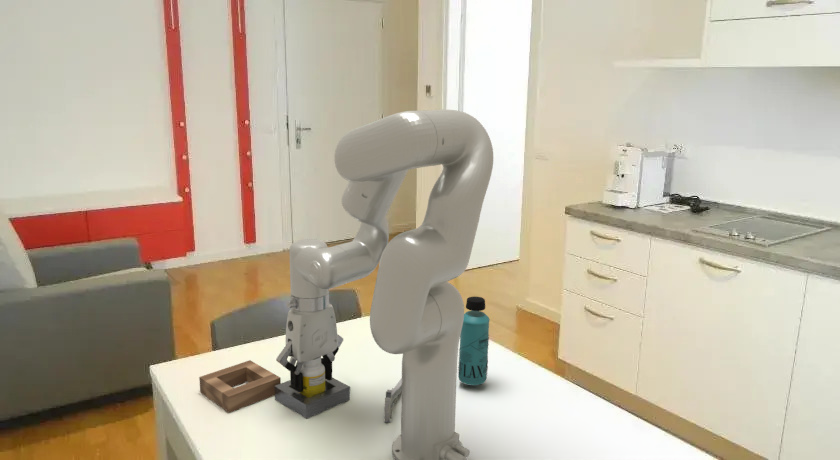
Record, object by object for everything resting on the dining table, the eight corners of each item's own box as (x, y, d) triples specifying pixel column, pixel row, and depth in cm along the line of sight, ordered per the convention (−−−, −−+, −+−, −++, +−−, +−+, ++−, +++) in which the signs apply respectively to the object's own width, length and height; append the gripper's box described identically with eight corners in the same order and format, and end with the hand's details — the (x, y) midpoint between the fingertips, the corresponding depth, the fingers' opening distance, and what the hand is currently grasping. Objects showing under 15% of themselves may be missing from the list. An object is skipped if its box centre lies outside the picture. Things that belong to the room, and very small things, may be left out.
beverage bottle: (452, 387, 135) (455, 300, 131) (464, 375, 141) (467, 291, 137) (480, 394, 132) (484, 305, 128) (491, 382, 138) (495, 296, 134)
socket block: (350, 399, 129) (349, 386, 129) (306, 418, 122) (306, 404, 121) (317, 382, 137) (317, 369, 136) (274, 399, 129) (274, 386, 128)
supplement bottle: (296, 396, 130) (295, 352, 128) (321, 391, 133) (320, 348, 131) (302, 408, 126) (301, 363, 124) (328, 403, 128) (328, 358, 126)
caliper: (389, 425, 120) (389, 395, 119) (384, 424, 121) (384, 394, 119) (409, 378, 140) (410, 352, 139) (404, 377, 140) (405, 351, 139)
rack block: (281, 392, 132) (280, 377, 131) (229, 412, 123) (228, 396, 123) (250, 374, 140) (250, 360, 139) (200, 392, 132) (199, 377, 131)
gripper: (283, 316, 116) (286, 404, 120) (355, 296, 128) (356, 376, 132) (261, 306, 121) (265, 391, 125) (332, 287, 133) (334, 365, 137)
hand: (312, 383), depth 128 cm, fingers open, 6 cm apart
